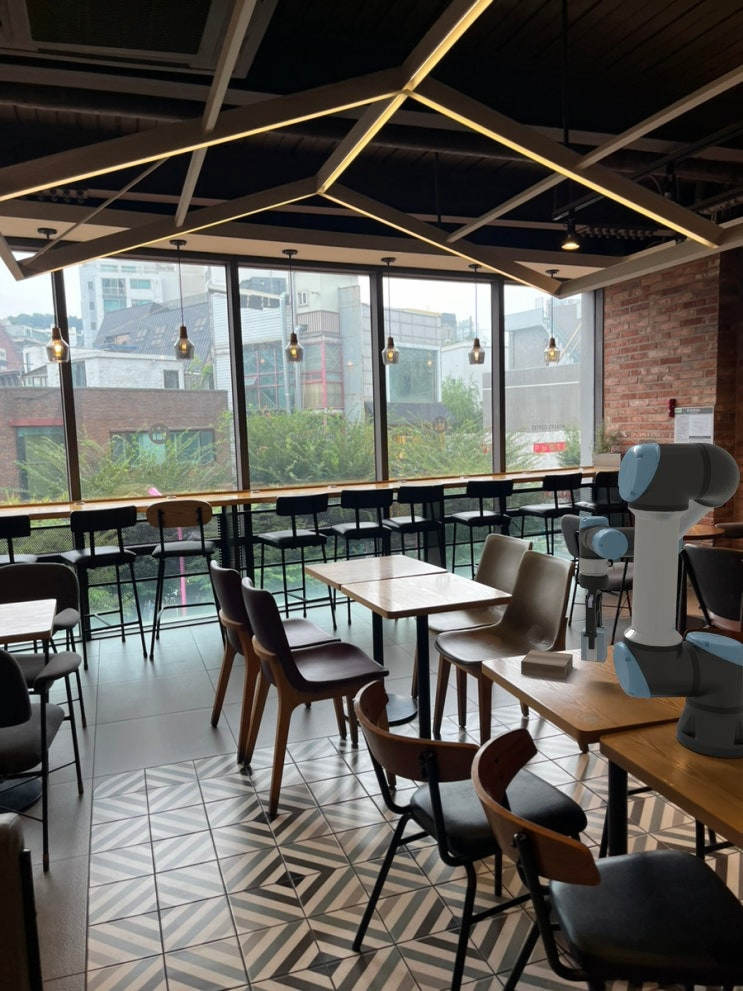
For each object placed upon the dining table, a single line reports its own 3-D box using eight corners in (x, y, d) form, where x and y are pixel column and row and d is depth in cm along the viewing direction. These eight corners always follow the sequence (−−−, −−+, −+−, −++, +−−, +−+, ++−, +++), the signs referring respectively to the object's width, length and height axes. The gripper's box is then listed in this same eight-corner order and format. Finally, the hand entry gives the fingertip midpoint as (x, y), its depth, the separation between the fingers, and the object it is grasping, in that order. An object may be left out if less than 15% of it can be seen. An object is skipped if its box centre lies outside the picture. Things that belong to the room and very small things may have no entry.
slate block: (604, 662, 185) (604, 633, 185) (581, 660, 188) (581, 631, 187) (607, 656, 190) (607, 628, 190) (584, 654, 193) (584, 626, 193)
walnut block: (564, 681, 190) (564, 666, 189) (521, 675, 195) (521, 661, 195) (572, 667, 200) (572, 654, 200) (531, 662, 206) (531, 649, 205)
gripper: (603, 580, 178) (603, 668, 179) (613, 568, 195) (613, 649, 196) (573, 578, 181) (573, 665, 182) (585, 567, 198) (585, 646, 199)
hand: (594, 657), depth 189 cm, fingers closed on slate block, 6 cm apart
